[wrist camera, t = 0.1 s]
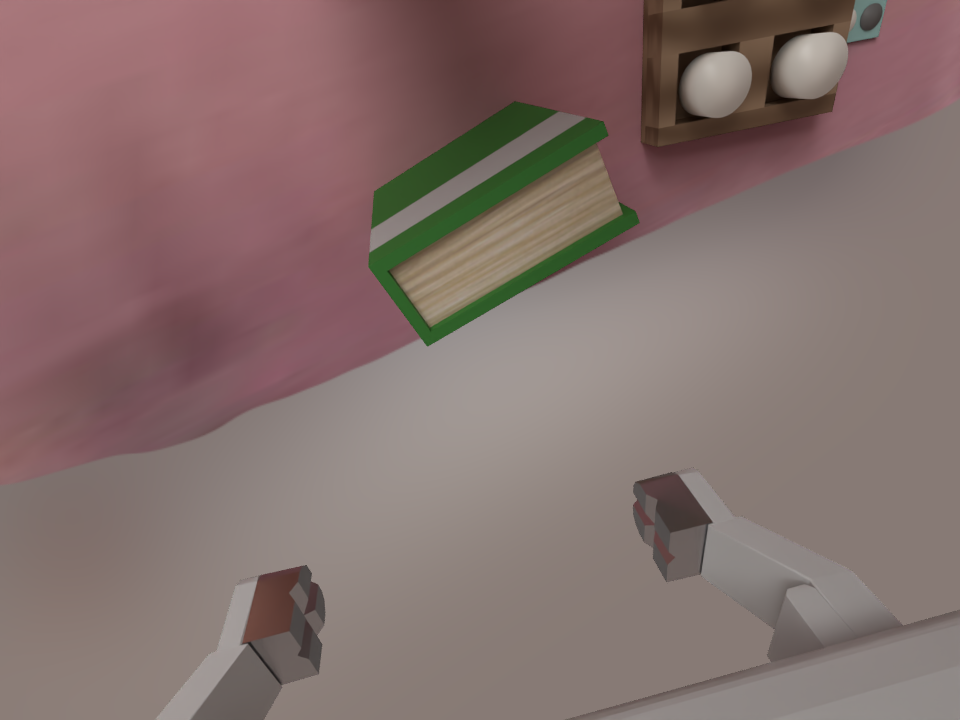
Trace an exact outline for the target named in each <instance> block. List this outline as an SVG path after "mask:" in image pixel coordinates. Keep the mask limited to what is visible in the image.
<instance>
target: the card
mask: <svg viewBox="0 0 960 720" xmlns="http://www.w3.org/2000/svg"><path fill="white" fill-rule="evenodd" d="M886 2H887V0H855V5H854V10H853V14H852V19H851V24H850V29H849V33H848V38H847V43H848V42H854V41H859V40H864V39H869V38H874V37H878V35H879V31H880V27H881V23H882V19H883V14H884V10H885V6H886Z"/></svg>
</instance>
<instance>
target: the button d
mask: <svg viewBox="0 0 960 720" xmlns="http://www.w3.org/2000/svg"><path fill="white" fill-rule="evenodd" d="M847 60H848V47H847V43H846V41H845V39H844V38H843V37H842V36H841V35H840V34H838V33H835V32H827V33H815V34H804V35H798V36H796V37H794V38H792V39H790V40H789V41H788V42H786V43H785V44H784V45H783V46H782V47H781V49H780V50H779V51H778V53H777V55H776V56H775V58H774V61H773V63H772V66H771V71H770V83H771V87H772V89H773V91H774V92H775V93H776V94H777V95H778V96H780V97H784V98H798V99H816V98H819V97H821V96H823V95H825V94H826V93H828V92H829V91H830V90H831V89H832V88H833V87H834V86H835V85H836V84H837V83H838V81H839V80H840V78H841V76H842V75H843V72H844V70H845V67H846V64H847Z"/></svg>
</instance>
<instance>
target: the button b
mask: <svg viewBox="0 0 960 720" xmlns="http://www.w3.org/2000/svg"><path fill="white" fill-rule="evenodd" d="M751 80H752V71H751V66H750V63H749V61H748V60H747V58H746V57H745V56H744V55H743V54H741V53H739V52H735V51H726V52H710V53H704V54H702V55H700V56H698V57H696V58H695V59H694V60H693V61H692V62H691V63H690V64H689V65H688V66H687V68H686V69H685V71H684V72H683V74H682V77H681V80H680V83H679V100H680V103H681V105H682V107H683V108H684V110H685V111H687V112H688V113H690V114H692V115H697V116H704V117H711V118H722V117H725V116H727V115H729V114H731V113H732V112H734V111H735V110H736V109H737V108H738V107H739V106H740V105H741V104H742V103H743V101H744V100H745V98H746V96H747V94H748V92H749V89H750V86H751Z"/></svg>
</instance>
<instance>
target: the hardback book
mask: <svg viewBox="0 0 960 720" xmlns="http://www.w3.org/2000/svg"><path fill="white" fill-rule="evenodd" d="M607 136H608V133H607V130H606V127H605V124H604V122H603V121H599V120H595V119H591V118H586V117H582V116H577V115H573V114H569V113H564V112H560V111H555V110H551V109H546V108H542V107H538V106H533V105H529V104H524V103H520V102H516V101H515V102H513V103H512V104H510V105H509V106H507V107H505V108H504V109H502V110H501V111H499V112H498V113H496V114H494V115H493V116H491V117H490V118H488V119H487V120H485V121H484V122H482V123H480V124H479V125H477V126H476V127H474V128H473V129H471V130H469V131H468V132H466V133H465V134H463V135H462V136H460V137H459V138H457V139H455V140H454V141H452V142H451V143H449V144H448V145H446V146H444V147H443V148H441V149H440V150H438V151H437V152H435V153H434V154H432V155H430V156H429V157H427V158H426V159H424V160H423V161H421V162H419V163H418V164H416V165H415V166H413V167H412V168H410V169H409V170H407V171H405V172H404V173H402V174H401V175H399V176H398V177H396V178H395V179H393V180H391V181H390V182H388V183H387V184H385V185H384V186H382V187H380V188H379V189H377V190H376V191H374V200H373V213H372V226H371V239H370V252H369V265H368V267H369V268H370V270H371V271H372V272H373V274H374V275H375V276H376V278H377V279H378V281H379V282H380V283H381V285H382V286H383V287H384V289H385V290H386V291H387V293H388V294H389V295H390V297H391V298H392V299H393V301H394V302H395V304H396V305H397V306H398V308H399V309H400V310H401V312H402V313H403V314H404V316H405V317H406V318H407V320H408V321H409V322H410V324H411V325H412V326H413V328H414V329H415V331H416V332H417V333H418V335H419V336H420V337H421V339H422V340H423V341H424V343H425V344H426V345H427V346H429V345H431V344H433V343H435V342H436V341H438V340H439V339H441V338H443V337H445V336H446V335H448V334H450V333H452V332H453V331H455V330H457V329H459V328H460V327H462V326H464V325H465V324H467V323H469V322H470V321H472V320H474V319H476V318H477V317H479V316H481V315H483V314H484V313H486V312H488V311H489V310H491V309H493V308H495V307H496V306H498V305H500V304H501V303H503V302H505V301H506V300H508V299H510V298H512V297H513V296H515V295H517V294H518V293H520V292H522V291H524V290H525V289H527V288H529V287H530V286H532V285H534V284H536V283H537V282H539V281H541V280H542V279H544V278H546V277H548V276H549V275H551V274H553V273H554V272H556V271H558V270H560V269H561V268H563V267H565V266H566V265H568V264H570V263H572V262H573V261H575V260H577V259H578V258H580V257H582V256H584V255H585V254H587V253H589V252H590V251H592V250H594V249H596V248H597V247H599V246H601V245H602V244H604V243H606V242H608V241H609V240H611V239H613V238H614V237H616V236H618V235H620V234H621V233H623V232H625V231H626V230H628V229H630V228H631V227H633V226H635V225H637V224H638V223H640V222H639V219H638V217H637V214H636V211H634V210H632V209H630V208H629V207H627V206H625V205H623V204H621V203H620V202H618V200H617V197H616V194H615V192H614V189H613V186H612V184H611V181H610V178H609V176H608V173H607V170H606V168H605V165H604V162H603V160H602V157H601V154H600V152H599V149H598V146H597V144H596V143H597V142H599V141H600V140H602V139H604V138H605V137H607Z"/></svg>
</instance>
